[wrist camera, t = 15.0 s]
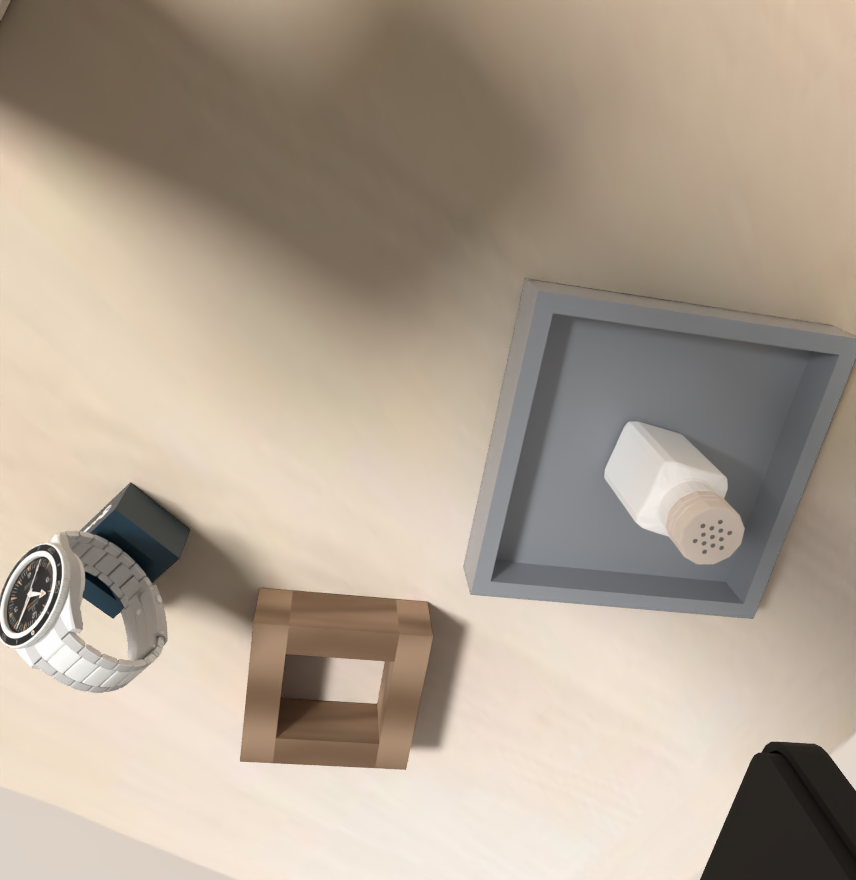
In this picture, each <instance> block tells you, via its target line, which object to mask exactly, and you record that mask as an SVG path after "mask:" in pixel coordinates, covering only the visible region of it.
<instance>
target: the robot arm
mask: <svg viewBox="0 0 856 880" xmlns="http://www.w3.org/2000/svg"><path fill="white" fill-rule="evenodd" d="M10 1H11V0H0V21H1V19H2V17H3V15H4V13H5V11H6V9H7V7H8V5H9V3H10ZM700 880H856V791H855V789H854V788H853V787H852V785H851V784H850V783H849V781H848V780H847V779H846V777H845V776H844V775H843V774H842V772H841V771H840V769H839V768H838V767H837V765H836V764H835V763H834V761H833V760H832V759H831V757H830V756H829V755H828V753H827V752H826V751H825V750H824V749H823V748H822V747H820V746H818V745H816V744H806V743H789V742H770V743H769V744H767V745H766V746H765V747H764V749H763V751H762V752H761V753H757V754H756V755H754V757H753V758H752V760H751V762H750V764H749V767H748V769H747V771H746V774H745V776H744V778H743V781H742V783H741V785H740V788H739V790H738V792H737V795H736V797H735V799H734V802H733V804H732V806H731V809H730V811H729V813H728V816H727V818H726V820H725V823H724V825H723V827H722V830H721V832H720V834H719V837H718V839H717V841H716V844H715V846H714V848H713V851H712V853H711V855H710V858H709V860H708V862H707V865H706V867H705V869H704V872H703V874H702V877H701V879H700Z"/></svg>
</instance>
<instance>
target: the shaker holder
mask: <svg viewBox="0 0 856 880" xmlns="http://www.w3.org/2000/svg"><path fill="white" fill-rule="evenodd" d="M432 640H433V633H432V626H431V620H430V614H429V608H428V602H423V601H411V600H399V599H387V598H375V597H363V596H351V595H339V594H327V593H315V592H303V591H291V590H279V589H267V588H260V589H259V594H258V600H257V606H256V611H255V617H254V622H253V632H252V642H251V652H250V663H249V673H248V683H247V694H246V704H245V715H244V725H243V735H242V746H241V756H240V762H261V763H281V764H302V765H322V766H343V767H363V768H384V769H404V770H406V767H407V762H408V757H409V752H410V747H411V743H412V738H413V733H414V728H415V723H416V718H417V713H418V708H419V704H420V699H421V694H422V689H423V684H424V679H425V674H426V670H427V665H428V660H429V655H430V650H431V645H432ZM286 654H291V655H305V656H320V657H334V658H348V659H362V660H376V661H385V664H384V669H383V675H382V681H381V686H380V692H379V697H378V703H377V704H364V703H348V702H332V701H316V700H300V699H283V698H280V697H281V689H282V680H283V672H284V663H285V655H286Z"/></svg>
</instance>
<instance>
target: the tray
mask: <svg viewBox="0 0 856 880" xmlns="http://www.w3.org/2000/svg"><path fill="white" fill-rule="evenodd" d="M855 359H856V336H854V335H852V334H850V333H847V332H845V331H843V330H841V329H838V328H836V327H834V326H832V325H827V324H821V323H814V322H808V321H801V320H794V319H788V318H781V317H775V316H768V315H762V314H755V313H748V312H742V311H735V310H729V309H722V308H716V307H709V306H703V305H696V304H689V303H683V302H676V301H670V300H663V299H657V298H650V297H643V296H637V295H630V294H624V293H617V292H611V291H604V290H597V289H591V288H584V287H578V286H571V285H565V284H558V283H551V282H545V281H538V280H532V279H525V282H524V287H523V291H522V296H521V301H520V305H519V310H518V315H517V319H516V324H515V329H514V333H513V338H512V343H511V347H510V352H509V357H508V361H507V366H506V371H505V375H504V380H503V385H502V389H501V394H500V398H499V403H498V408H497V412H496V417H495V422H494V426H493V431H492V436H491V440H490V445H489V450H488V454H487V459H486V464H485V468H484V473H483V478H482V482H481V487H480V492H479V496H478V501H477V506H476V510H475V515H474V520H473V524H472V529H471V534H470V538H469V543H468V548H467V552H466V557H465V562H464V566H463V567H464V571H465V575H466V579H467V582H468V586H469V590H470V594H471V595H481V596H493V597H504V598H516V599H528V600H539V601H551V602H563V603H574V604H586V605H598V606H610V607H621V608H633V609H645V610H656V611H668V612H680V613H692V614H703V615H715V616H727V617H738V618H750V619H753V618H754V616H755V613H756V611H757V608H758V606H759V603H760V600H761V598H762V595H763V593H764V590H765V588H766V585H767V583H768V580H769V578H770V575H771V573H772V570H773V567H774V565H775V562H776V560H777V557H778V555H779V552H780V550H781V547H782V545H783V542H784V540H785V537H786V534H787V532H788V529H789V527H790V524H791V522H792V519H793V517H794V514H795V512H796V509H797V507H798V504H799V501H800V499H801V496H802V494H803V491H804V489H805V486H806V484H807V481H808V479H809V476H810V474H811V471H812V468H813V466H814V463H815V461H816V458H817V456H818V453H819V451H820V448H821V446H822V443H823V441H824V438H825V435H826V433H827V430H828V428H829V425H830V423H831V420H832V418H833V415H834V413H835V410H836V407H837V405H838V402H839V400H840V397H841V395H842V392H843V390H844V387H845V385H846V382H847V380H848V377H849V374H850V372H851V369H852V367H853V364H854V362H855ZM629 421H638V422H642V423H645V424H649V425H652V426H656V427H659V428H662V429H666V430H669V431H673V432H676V433H680V434H682V435H683V436H684V437H685V438H686V439H687V440H688V441H689V442H690V443H691V444H692V445H693V446H694V447H696V448H697V449H698V450H699V451H700V452H701V453H702V454H703V455H704V456H705V457H706V458H707V459H708V460H709V461H710V462H711V463H712V464H713V465H714V466H715V467H716V468H717V469H718V470H719V471H720V472H721V473H722V474H723V475H724V476H725V477H726V478H727V483H728V489H727V492H726V495H725V497H724V499H725V500H726V501H727V503H728V504H729V505H730V506H731V507H732V508H733V509H734V510H735V511H736V512H737V513H738V514H739V515H740V517H741V520H742V523H743V525H744V528H745V530H744V534H743V538H742V542H741V545H740V546H739V547H738V548H737V549H736V550H735V551H734V553H733V554H732V555H731V556H730V557H729V558H726V559H724V560H722V561H720V562H718V563H716V564H696V563H694V562H692V561H690V560H689V559H687V558H685V557H684V556H683V555H682V553H681V552H680V551H679V549H678V548H677V547H676V545H675V544H674V543H673V541H672V540H671V539H670V537H669V536H665V535H661V534H658V533H655V532H652V531H649V530H646V529H643V528H642V527H640V526H639V525H638V524H637V523H636V522H635V521H634V520H633V518H632V517H631V515H630V514H629V512H628V511H627V510H626V508H625V507H624V505H623V504H622V502H621V501H620V500H619V498H618V497H617V495H616V494H615V492H614V491H613V490H612V488H611V487H610V485H609V484H608V482H607V481H606V480H605V478H604V474H605V468H606V465H607V463H608V461H609V459H610V457H611V454H612V452H613V450H614V448H615V446H616V443H617V441H618V439H619V437H620V435H621V432H622V430H623V428H624V426H625V425H626V424H627V423H628V422H629Z"/></svg>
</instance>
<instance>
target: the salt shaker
mask: <svg viewBox="0 0 856 880" xmlns="http://www.w3.org/2000/svg"><path fill="white" fill-rule="evenodd" d="M604 478H605V480H606V481H607V482H608V484H609V485H610V487H611V488H612V490H613V491H614V492H615V494H616V495H617V497H618V498H619V500H620V501H621V502H622V504H623V505H624V507H625V508H626V510H627V511H628V512H629V514H630V515H631V517H632V518H633V520H634V521H635V522H636V523H637V524H638V525H639V526H640V527H642V528H643V529H646V530H649V531H652V532H655V533H658V534H661V535H665V536H669V537H670V539H671V540H672V541H673V543H674V544H675V545H676V547H677V548H678V549H679V551H680V552H681V553H682V555H683V556H684V557H685V558H687V559H689V560H690V561H692V562H694V563H696V564H716V563H718V562H720V561H722V560H724V559H726V558H729V557H730V556H731V555H732V554H733V553H734V551H735V550H736V549H737V548H738V547H739V546H740V545H741V542H742V538H743V534H744V530H745V528H744V525H743V523H742V520H741V517H740V515H739V514H738V513H737V512H736V511H735V510H734V509H733V508H732V507H731V506H730V505H729V504H728V503H727V501H726V500H725V499H724V497H725V495H726V492H727V489H728V483H727V478H726V477H725V476H724V475H723V474H722V473H721V472H720V471H719V470H718V469H717V468H716V467H715V466H714V465H713V464H712V463H711V462H710V461H709V460H708V459H707V458H706V457H705V456H704V455H703V454H702V453H701V452H700V451H699V450H698V449H697V448H696V447H694V446H693V445H692V444H691V443H690V442H689V441H688V440H687V439H686V438H685V437H684V436H683V435H682V434H680V433H676V432H673V431H669V430H666V429H662V428H659V427H656V426H652V425H649V424H645V423H642V422H638V421H629V422H628V423H627V424H626V425H625V426H624V428H623V430H622V432H621V435H620V437H619V439H618V441H617V443H616V446H615V448H614V450H613V452H612V454H611V457H610V459H609V461H608V463H607V465H606V468H605V474H604Z"/></svg>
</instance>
